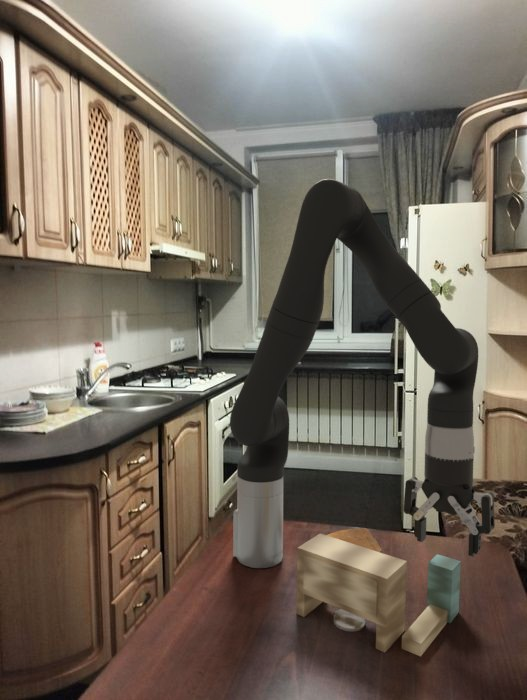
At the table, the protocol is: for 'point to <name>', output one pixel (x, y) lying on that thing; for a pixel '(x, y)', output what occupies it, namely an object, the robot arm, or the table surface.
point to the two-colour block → (435, 604)
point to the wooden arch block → (353, 584)
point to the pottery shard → (357, 538)
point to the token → (348, 621)
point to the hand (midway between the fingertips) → (446, 547)
